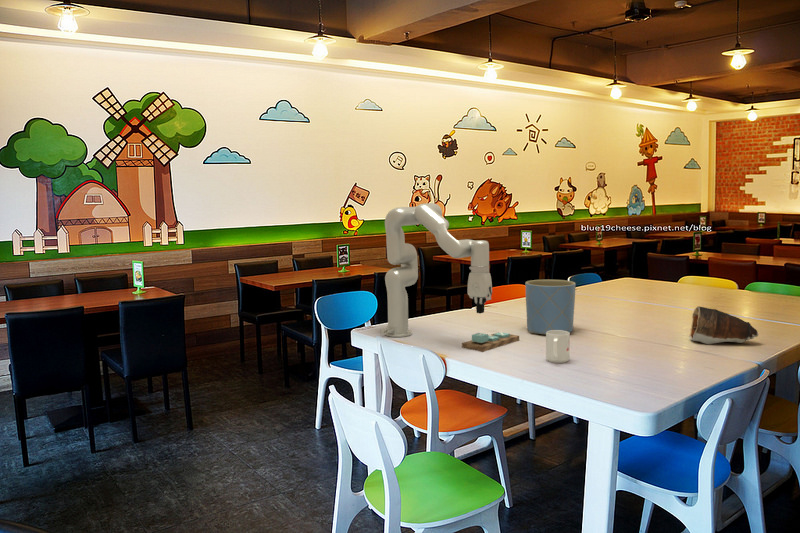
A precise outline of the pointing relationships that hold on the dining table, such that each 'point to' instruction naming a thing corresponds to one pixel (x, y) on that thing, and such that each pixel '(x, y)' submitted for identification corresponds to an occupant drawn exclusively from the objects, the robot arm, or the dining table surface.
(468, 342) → the board
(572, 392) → the dining table surface
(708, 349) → the dining table surface
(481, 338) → the tile one
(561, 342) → the mug
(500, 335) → the tile three
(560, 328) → the planter
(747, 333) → the brown wedge
